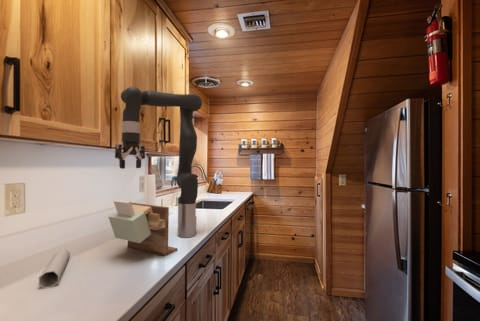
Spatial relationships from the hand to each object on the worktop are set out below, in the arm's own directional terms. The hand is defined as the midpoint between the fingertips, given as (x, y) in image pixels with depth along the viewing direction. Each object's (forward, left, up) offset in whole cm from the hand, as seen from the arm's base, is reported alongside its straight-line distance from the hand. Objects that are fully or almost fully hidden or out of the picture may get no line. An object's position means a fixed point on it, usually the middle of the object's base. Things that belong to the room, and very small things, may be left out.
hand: (130, 168), depth 112 cm
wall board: (-1, +10, -36) cm, 37 cm away
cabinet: (+4, +10, -27) cm, 29 cm away
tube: (+28, -3, -36) cm, 46 cm away
